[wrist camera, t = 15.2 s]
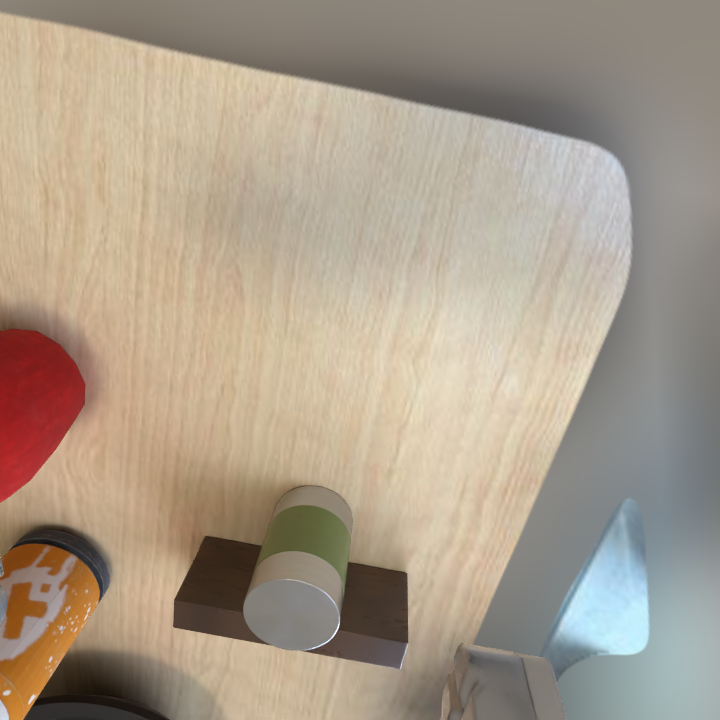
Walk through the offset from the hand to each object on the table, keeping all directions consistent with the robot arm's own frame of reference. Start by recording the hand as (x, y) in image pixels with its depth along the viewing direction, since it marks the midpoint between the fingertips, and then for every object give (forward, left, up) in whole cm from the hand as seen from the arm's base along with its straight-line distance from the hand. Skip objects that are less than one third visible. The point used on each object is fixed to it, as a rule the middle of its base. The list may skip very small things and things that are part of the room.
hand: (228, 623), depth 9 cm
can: (+11, +19, -29) cm, 37 cm away
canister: (+36, +18, -29) cm, 50 cm away
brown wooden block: (+15, +25, -29) cm, 41 cm away
